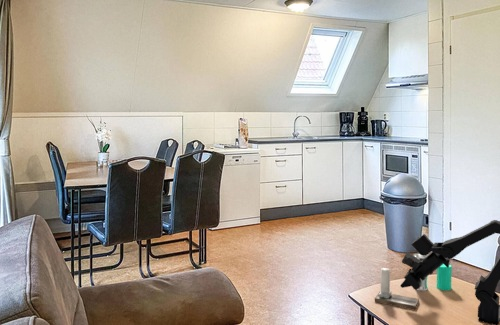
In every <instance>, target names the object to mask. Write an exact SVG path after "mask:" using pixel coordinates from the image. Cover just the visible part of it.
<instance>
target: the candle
mask: <svg viewBox="0 0 500 325" xmlns="http://www.w3.org/2000/svg"><path fill="white" fill-rule="evenodd" d="M452 271H453V268H452V265H451V264H450V265H449V267H446V266H445V265H444V264H443V265H441V266H440V267H439V268H437V269H436V289H438V290H440V291H451V290H452Z"/></svg>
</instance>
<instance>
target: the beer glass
mask: <svg viewBox="0 0 500 325" xmlns="http://www.w3.org/2000/svg"><path fill="white" fill-rule="evenodd" d="M412 255H413V256H414V257H416V258H417V259H419V260H421V259H422V258H426V257H427V256H428V255H429V254H427V255H426V256H425V255H424V256H423V255H420V254H419V253H413V254H412ZM428 276H429V275H428ZM428 276H427V277H426V278H425V280H423V281H422V279H421V278H420V279H421V286H420V287H419V288H418V289H417V290H416V291H418V292H427V291H429V290H428ZM412 288H413V287H412ZM412 290H415V289H414V288H413V289H412Z"/></svg>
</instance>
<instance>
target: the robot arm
mask: <svg viewBox="0 0 500 325" xmlns="http://www.w3.org/2000/svg"><path fill="white" fill-rule="evenodd" d="M494 234H498V235H500V220H498V219H493V220H491V221H490V222H488V223H486V224H484V225H482V226H480V227H478V228H475V229H474V230H472V231H470V232H468V233H466V234H465V235H462V236H459V237H455V238H450V239H447V240H444V241H443V242H432V241H431V240H430V239H429V237H428V236H427V235H426V234H425V233H423V234H422V235H420V236H418V237H417V238H416V239H415V240H413V242H411V244H410V246H412V248H413V249H414V250H415V251H417V254H420V255H423V256H424V255H425V256H426V255H428V256H427V257H426V258H422V259H421V260H419V259H417V258H416V257H414V256H413V255H414V254H410V253H409V252H406V253H405V254H404V256H403V258H402V260H401V263H402V264H404V265H406V266H408V267H410V268H409V269H408V270H407V272H406V274H405V275H404V277H403V278H404V280H403V281H402V283H401V284H400V285H399V287H400V288H402V289H403V288H408V287H412V288H414V289H413V290H415V291H417V289H418V288H419V287H420V286H421V279H422V281H423V280H425V278H426V277H427V276H429V275H432V274H433V273H434V272H435V271H437V268H439V267H440V266H441V265H443V264H444V265H445V266H446V267H449V265H451V263H450V262H451V259H454V258H456V256H458V255H460V254H461V253H462V252H463V251H464V250H465V249H467V248H468V247H470V246H472V245H474V244H476V243H478V242H480V241H483V240H484V239H486V238H488V237H490V236H492V235H494ZM420 278H421V279H420ZM427 278H428V277H427ZM499 282H500V256H498V258H497V260H496V261H495V264H493V267H492V268H491V270H490V271H489V273H488V274H486V276H484V275H482V274H481V275H480V276H479V279H478V281H477V282H475V285H474V290H475V292H474V296H475V298H476V300H478V301H479V305H478V307H477V317H478V319H477V320H478V322H481V323H484V324H489V325H499V324H500V296H499V295H498V293H497V292H496V290H497V286H498V284H499Z"/></svg>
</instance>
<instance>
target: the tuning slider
mask: <svg viewBox="0 0 500 325" xmlns="http://www.w3.org/2000/svg"><path fill="white" fill-rule="evenodd" d="M390 274H391V270H390V268H388V267H381V268H380V291H379V292H380V293H379V292H378V293H379V297H382V299H383V298H388V299H389V297H390V296H391V294H392V291H391V290H390V289H391V288H390V287H391V286H390V285H391V284H390V283H391V280H390V279H391V275H390Z"/></svg>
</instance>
